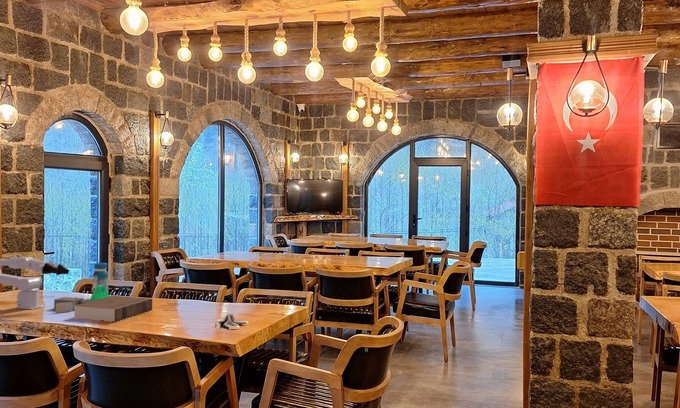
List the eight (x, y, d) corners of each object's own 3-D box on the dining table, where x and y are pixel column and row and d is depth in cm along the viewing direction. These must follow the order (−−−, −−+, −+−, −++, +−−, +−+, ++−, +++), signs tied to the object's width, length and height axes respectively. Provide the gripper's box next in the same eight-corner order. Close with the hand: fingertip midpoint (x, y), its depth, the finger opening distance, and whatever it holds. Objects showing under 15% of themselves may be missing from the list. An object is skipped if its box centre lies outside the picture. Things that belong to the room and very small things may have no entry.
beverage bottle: (104, 299, 311) (104, 264, 311) (89, 299, 311) (89, 264, 311) (111, 297, 319) (111, 262, 319) (96, 296, 319) (96, 262, 319)
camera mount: (97, 307, 290) (97, 288, 290) (88, 305, 295) (88, 286, 294) (117, 304, 301) (117, 285, 300) (108, 302, 305) (108, 283, 305)
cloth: (219, 320, 266) (220, 307, 266) (255, 323, 261) (255, 310, 261) (196, 331, 244) (196, 317, 244) (235, 334, 240) (235, 320, 240)
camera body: (54, 309, 284) (54, 298, 284) (63, 306, 291) (64, 295, 291) (76, 310, 281) (76, 299, 281) (86, 308, 288) (86, 297, 288)
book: (152, 311, 285) (152, 298, 285) (116, 323, 258) (116, 309, 258) (111, 308, 291) (111, 295, 291) (72, 319, 264) (72, 305, 264)
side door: (56, 312, 275) (56, 303, 275) (55, 312, 276) (55, 303, 276) (74, 310, 280) (74, 302, 280) (74, 310, 282) (74, 301, 281)
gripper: (32, 257, 278) (55, 263, 275) (53, 259, 292) (75, 264, 289) (29, 271, 278) (51, 277, 274) (49, 272, 292) (71, 278, 288)
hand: (63, 271), depth 282 cm, fingers open, 7 cm apart
